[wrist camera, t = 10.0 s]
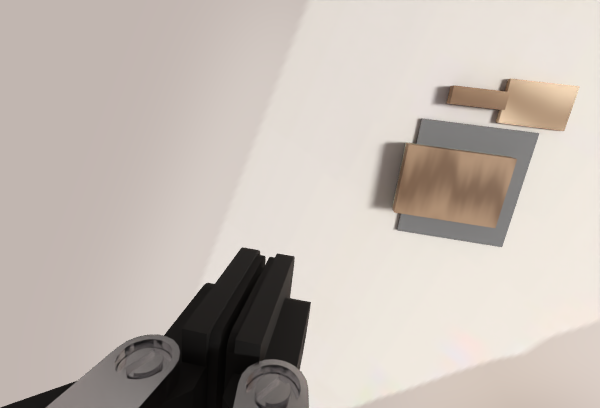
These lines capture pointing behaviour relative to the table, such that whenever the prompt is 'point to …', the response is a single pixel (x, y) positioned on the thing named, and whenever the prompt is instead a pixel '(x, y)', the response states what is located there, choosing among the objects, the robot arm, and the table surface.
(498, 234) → the mat
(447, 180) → the brown wooden block
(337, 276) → the table surface
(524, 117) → the turner
